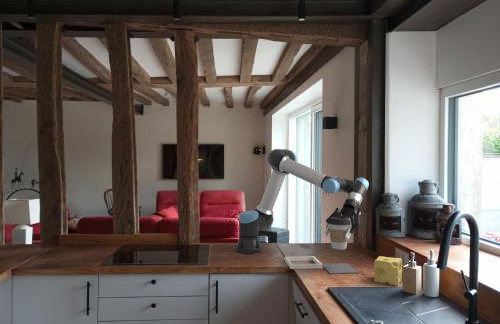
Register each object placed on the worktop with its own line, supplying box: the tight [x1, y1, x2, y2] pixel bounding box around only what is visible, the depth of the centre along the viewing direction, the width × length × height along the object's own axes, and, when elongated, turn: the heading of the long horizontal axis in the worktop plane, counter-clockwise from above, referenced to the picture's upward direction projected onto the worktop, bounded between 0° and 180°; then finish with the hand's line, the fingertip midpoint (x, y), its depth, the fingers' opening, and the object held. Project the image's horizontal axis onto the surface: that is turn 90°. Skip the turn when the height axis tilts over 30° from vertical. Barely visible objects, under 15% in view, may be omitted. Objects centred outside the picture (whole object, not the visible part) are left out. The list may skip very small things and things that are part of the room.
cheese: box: [373, 255, 403, 287], centre depth 168 cm, size 10×11×10 cm
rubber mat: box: [322, 262, 359, 275], centre depth 186 cm, size 16×14×1 cm
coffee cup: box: [328, 217, 351, 251], centre depth 186 cm, size 11×11×15 cm
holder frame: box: [284, 255, 324, 270], centre depth 195 cm, size 16×16×2 cm
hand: (336, 236), depth 185 cm, fingers closed on coffee cup, 11 cm apart
